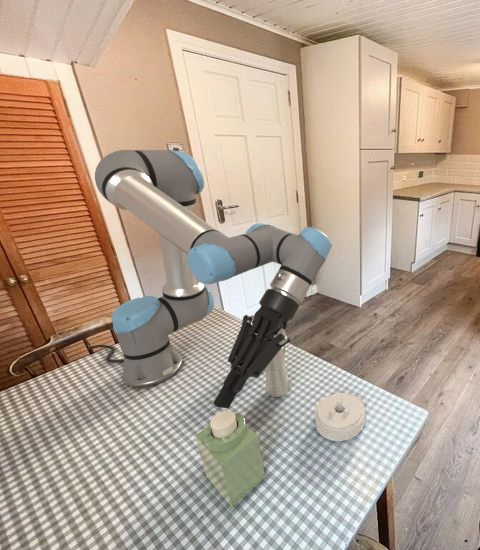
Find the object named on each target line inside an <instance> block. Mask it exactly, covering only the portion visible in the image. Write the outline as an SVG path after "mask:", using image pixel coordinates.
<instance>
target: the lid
mask: <svg viewBox="0 0 480 550" xmlns="http://www.w3.org/2000/svg"><path fill="white" fill-rule="evenodd" d="M313 415H314V426H315V429H316V431H317V433H319V435H320V436H321V437H323V438H325V439H327V440H330V441H334V442H343V441H348V440H351V439H353V438H355V437H356V436H357V435H359V434H360V433H361V431H362V430H363V428H364V426H365V424H366V407H365V405H364V403H363V401H362V400H361V399H360V398H359V397H357V396H356V395H354V394H350V393H346V392H337V393H336V392H335V393H331V394H329V395H327V396H326V397H325V396H324V397H323V399H321V400H320V401H319V402H318V403H317V404H316V407H315V409H314V414H313Z"/></svg>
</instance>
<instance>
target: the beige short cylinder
mask: <svg viewBox="0 0 480 550" xmlns="http://www.w3.org/2000/svg"><path fill="white" fill-rule="evenodd" d="M235 413H236V412H234V411H232V410H222V411H220V412H218V413H216V414H215V415H214V416H213V417H211V420H210V421H209V423H210V425H211V429H212V434H213V436H214V437H215V438H217V439H223V438H226V437H229V436H230V435H232V434H233V433H234V432H235V431H236V429H237V421H236V416H235Z"/></svg>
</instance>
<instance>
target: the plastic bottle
mask: <svg viewBox="0 0 480 550" xmlns="http://www.w3.org/2000/svg"><path fill="white" fill-rule="evenodd" d="M266 340H267V339H266ZM264 372H265V390H266V393H267V394H268V395H269V397H273V398H282V397H283V396H284V395H287V393H288V392H289V391H290V386H291V383H290V378H289V375H288V372H287V369H286V345H285V346H283V347H282V348H281V349H280V351H279V352H278V353H277V354H276V356H275V357H274V358H273V359H272V361H271V362H270V363H269V364H268V366H267V367H266V368H265V369H264Z"/></svg>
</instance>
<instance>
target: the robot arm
mask: <svg viewBox="0 0 480 550" xmlns="http://www.w3.org/2000/svg"><path fill="white" fill-rule="evenodd" d="M94 181H95V186H96V188H97V190H98V192H99V193H100V194H101V196H102V197H103V198H104V199H105V200H106V201H107V202H109V203H110V204H111V205H113V206H114V207H116V208H118V209H119V210H123V211H128V212H130V213H131V214H133V215H134V216H135V217H136V218H137V219H139V220H140V221H142V222H143V223H144V224H146V225H147V226H149V227H150V228H151V229H153V230H154V231H155V232H157V233H158V237H159V241H160V248H161V254H162V261H163V267H164V274H165V280H166V283H164V285H162V287H161V292H162V296H160V297H156V296H154V295H146V296H145V295H144V296H142V297H136V298H132V299H130V300H128V301H126V302H123V303H122V304H120V305H119V306H118V307H117V308H115V309H114V311H113V312H112V314H111V322H112V329H113V332H114V333H115V336H116V338H117V341H118V343H119V347H120V350H121V353H122V355H123V358H121V359H111V356H112V355H113V354H114V353H115V351H116V348H115V347H114V346H112V345H109V344H95V345H92V346H89V347H88V348H87V350H86V351H87V352H90V351H91V350H93V349H98V348H105V349H109V350H110V352H109V353H108V354H107V355H106V358H105V360H106V361H107V362H108V363H123V367H122V380H123V383H124V385H126V387H129V388H133V389H143V388H149V387H153V386H156V385H158V384H161V383H163V382H166V381H167V380H169V379H171V378H172V377H174V376H175V375H176V374H178V373H179V371H180V370H181V369H182V368H183V358H182V356H181V354H180V353H179V352H178V350H177V349H176V348H175V347H174V346H173V345H172V343H171V341H170V337H169V335H171V334H173V333H175V332H178V331H180V330H181V329H184V328H186V327H188V326H190V325H192V324H195V323H197V322H200V321H202V320H204V319H205V318H206V317H209V316H210V315H211V314H212V313H213V311H214V306H215V298H214V295H213V294H212V291H211V289H210V288H209V287H208V286H207V285H213V284H216V283H220V282H224V281H227V280H230V279H232V278H234V277H236V276H239V275H242V274H244V273H246V272H249V271H252V270H254V269H257V268H259V267H260V268H261V267H263V266H265V265H268V264H270V263H275V264H278V265H280V266H279V268H278V270H277V272H276V273H275V276H274V277H273V279H272V281H271V282H270V284H269V287H270V288H268V289H266V290H265V292H264V293H263V295H262V296H261V298H260V299H259V302H258V303H259V305H260V307H259V309H257V310H256V311H255V312H254V314H252V315H250V316H249V315H248V314H245V315H244V316H243V317H242V323H241V327H240V329H239V332H238V334H237V337H236V339H235V341H234V343H233V346H232V349H231V351H230V353H229V354H228V355H229V356H228V358H227V362H228V363H230V371H229V372H228V373H227V376H226V377H225V378H224V381H223V386H222V387H221V389H220V391H219V392H218V394H217V396H216V397H215V399H214V401H213V403H212V404H213V405H214V406H215V407H217V408H222V409H230V408H231V406H232V404H233V401H234V400H235V399H236V397H237V395H238V394H240V393H241V392H242V390H243V388H244V386H245V384H246V383H247V382H248V379H249V378H254V379H257V378H259V377H260V376H261V375H262V374H263V372H265V368H266V367H267V366H268V364H269V363H270V362H271V361H272V359H273V358H274V357H275V356H276V354H277V353H278V352H279V351H280V349H281V348H282V347H283V346H285V347H286V345H287V344H289V343H290V341H291V337H290V336H287V333H286V329H287V327H288V323H289V321H291V320H293V319H294V317H295V315H296V314H297V312H298V310H299V308H300V304H299V303H302V302H303V301H304V299H305V298H306V295H307V294H308V292H309V290H310V288H311V286H312V285H313V282H314V280H315V279H316V277H317V275H318V274H319V272H320V270H321V269H322V267H323V265H324V263H325V262H326V261H327V258H328V256H329V254H330V251H331V249H332V247H333V243H332V240H331V239H330V237H329V236H328V235H326V233H324V232H322V231H321V230H319V229H317V228H314V227H311V226H305V227H303V228H302V230H301V231H299V234H297V233H292V232H289V231H286V230H284V229H281V228H278V227H276V226H275V225H271V224H266V223H262V222H260V223H259V222H258V223H257V222H256V223H254V224H253V225H251V227H249V228H247V230H246V231H245V233H243V234H238V235H235V236H230V237H229V236H227V235H225V233H223V232H221V231H219V230H218V229H217V228H215V227H214V226H212V225H210V224H209V223H208V222H207V221H205V220H203V219H202V218H200V217H199V216H198V215H197V214H195V213H193V212H192V208H193V207H195V206H196V205H197V196H196V195H200V194H201V193H202V192H203V190H204V188H205V179H204V174H203V172H202V169H201V168H200V166H199V164H198V163H197V161H196V160H195V159H194V157H192V156H191V155H190V154H188V153H186V152H184V151H179V150H171V149H121V150H116V151H113V152H111V153H108V154H106V155H104V157H102V159H100V161H99V162H98V163H97V166H96V167H95V171H94ZM257 334H258V335H257ZM266 339H267V340H266Z"/></svg>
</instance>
